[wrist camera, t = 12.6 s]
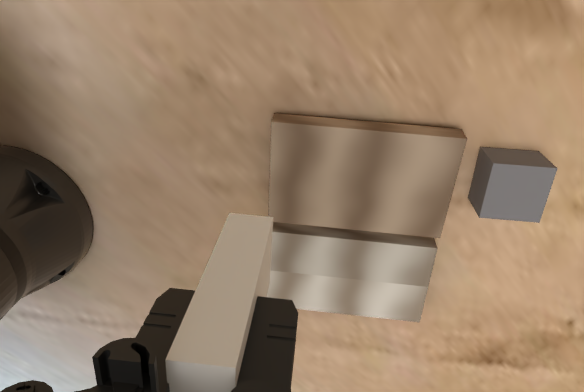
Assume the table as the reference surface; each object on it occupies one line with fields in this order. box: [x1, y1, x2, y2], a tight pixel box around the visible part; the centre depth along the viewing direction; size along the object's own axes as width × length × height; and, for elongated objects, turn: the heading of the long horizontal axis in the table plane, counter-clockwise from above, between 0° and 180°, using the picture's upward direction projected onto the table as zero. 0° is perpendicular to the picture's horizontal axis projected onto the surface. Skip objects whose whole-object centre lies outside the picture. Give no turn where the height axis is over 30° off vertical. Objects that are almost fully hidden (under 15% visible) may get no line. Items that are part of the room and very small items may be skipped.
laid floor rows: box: [267, 222, 437, 322], centre depth 46 cm, size 16×9×2 cm, turn 86°
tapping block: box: [468, 147, 557, 223], centre depth 40 cm, size 5×5×4 cm
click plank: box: [268, 113, 467, 238], centre depth 41 cm, size 16×10×2 cm, turn 86°
